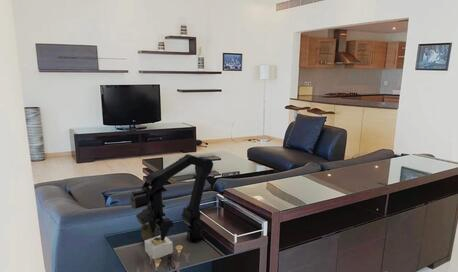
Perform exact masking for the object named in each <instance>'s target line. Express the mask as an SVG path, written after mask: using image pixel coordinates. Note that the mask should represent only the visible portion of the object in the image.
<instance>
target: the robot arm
mask: <svg viewBox="0 0 458 272" xmlns="http://www.w3.org/2000/svg"><path fill="white" fill-rule="evenodd" d="M191 165H193V166H194V170H195V171H194V172H195V179H194V183H193V187H192V192H191V196H190V200H189V204H188V206H186V207H183V210H182V214H181V216H182V217H181V218H182V221H183V222H184V223H185V224H186V225H187V230H186V239H187V240H188V241H190V242H192V243H196V242H200V241H201V240H205V236H203V230H204V229H205V225H206V223H205V222H204V221H202V220H201V210H200V209H201V208H200V207H201V202H202V198H203V193H204V189H205V184H206V181H207V177H209V175H210V174H211V172H212V170H213V167H214V162H213V160H212V159H209V158H208V157H205V156H199V157H197V156H194V155H193V154H192V155H191V154H188V153H187V154H185V155H184V156H183V157H181V158H179V159H177V160H176V161H175V162H173V163H172V164H170V165H168V166H167V167H165V168H162V169H158V170H155V171H152V172H150V173H149V174H147V176H146V178H145V179H146V180H145V181H144V183H143V184H142V186H141V189H140V190H137V191H132V192H131V194H130V198H129V202H130V205H131V208H132V209H134V210H136V209H139V208H143V207H146V208H144V209H142V210H141V212H139V213H137V214H136V215H135V217H136V218H137V219H136V220H137V221H138V223H140V224H141V226H142V225H144V224H148V223H149V225H150V228H151V231H152V232H155V228H156V227H157V231H159V235H160V237H161V240H162V241H163V240H164V239H165V237H167V234H168V232H169V230H170V229H171V228H172V227H173V226H174V221H173V220H171V219H170V218H168V217H166V213H165V212H164V208H165V207H166V205H165V204H164V201H163V193H165V192H167V191H168V189H167V188H165V185H166V184H167V183H168V181H169V179H171V178H173V177H174V176H175V175H177V174H178V173H181V172H182V171H183V170H185V169H187V168H188V167H190V166H191ZM163 217H164V218H163Z"/></svg>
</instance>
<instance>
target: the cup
mask: <svg viewBox="0 0 458 272" xmlns="http://www.w3.org/2000/svg"><path fill="white" fill-rule="evenodd" d="M139 229H140V233H141V238H142V239H143V241H145V240H148V239H151V238H154V237H157V231H158V229H157V227H156V228H155V232H152V231H151V228H150V225H149V223H146V224H144V225H142V224H141V227H139Z"/></svg>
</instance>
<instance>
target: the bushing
mask: <svg viewBox="0 0 458 272" xmlns="http://www.w3.org/2000/svg"><path fill="white" fill-rule="evenodd" d="M156 237H157V236H156ZM162 243H163V241H162V240H161V237H157V238H154V245H155V246H156V245H159V244H162Z"/></svg>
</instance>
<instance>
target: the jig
mask: <svg viewBox="0 0 458 272" xmlns="http://www.w3.org/2000/svg"><path fill="white" fill-rule="evenodd" d="M157 237H160V234H159V235H156V237H154V238H157ZM154 238H151V239H148V240H143V241H144V251H145V252H146V254H148V256H149V257H150V258H151V259H152V260H154V259H155V260H157V258H158V259H160V258H163V257H165V256H167V255H170V254H173V253H174V246H173V241H172V240H171V239H170V238H168V237H167V236H166V237H165V239H164V240H163V243H162V244H159V245H156V246H155V245H154Z"/></svg>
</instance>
